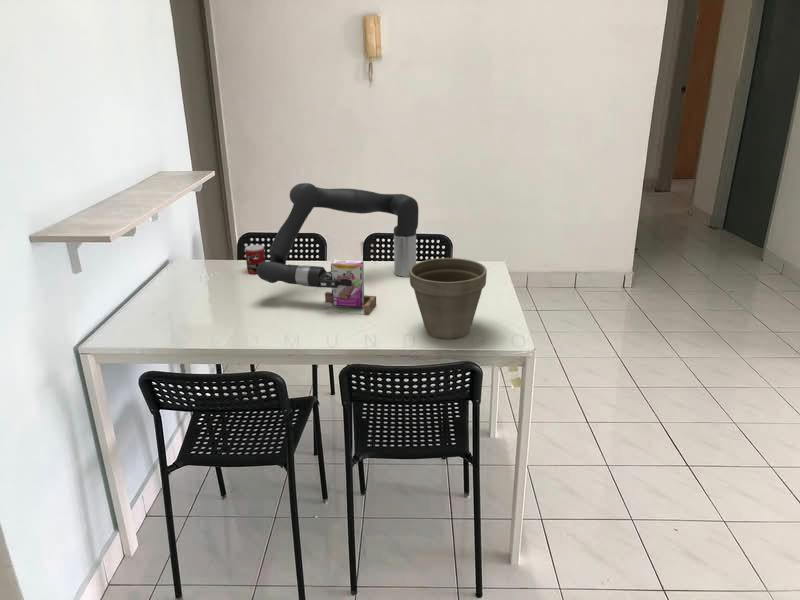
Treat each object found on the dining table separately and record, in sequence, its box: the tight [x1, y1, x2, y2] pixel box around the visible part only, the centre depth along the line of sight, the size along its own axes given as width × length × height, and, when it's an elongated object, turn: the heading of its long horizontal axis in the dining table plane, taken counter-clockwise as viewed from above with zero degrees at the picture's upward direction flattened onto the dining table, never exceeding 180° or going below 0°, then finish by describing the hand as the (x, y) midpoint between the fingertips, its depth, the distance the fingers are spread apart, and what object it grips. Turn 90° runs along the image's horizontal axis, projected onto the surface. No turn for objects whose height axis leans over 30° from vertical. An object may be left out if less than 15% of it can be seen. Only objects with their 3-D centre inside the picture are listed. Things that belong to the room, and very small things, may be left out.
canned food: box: [244, 244, 266, 275], centre depth 258 cm, size 8×8×11 cm
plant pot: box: [409, 257, 488, 340], centre depth 197 cm, size 25×25×22 cm
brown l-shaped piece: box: [324, 291, 377, 316], centre depth 220 cm, size 10×20×4 cm, turn 75°
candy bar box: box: [330, 259, 365, 307], centre depth 216 cm, size 11×5×16 cm, turn 84°
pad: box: [327, 305, 364, 315], centre depth 219 cm, size 8×14×1 cm, turn 75°
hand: (354, 280), depth 215 cm, fingers closed on candy bar box, 5 cm apart
